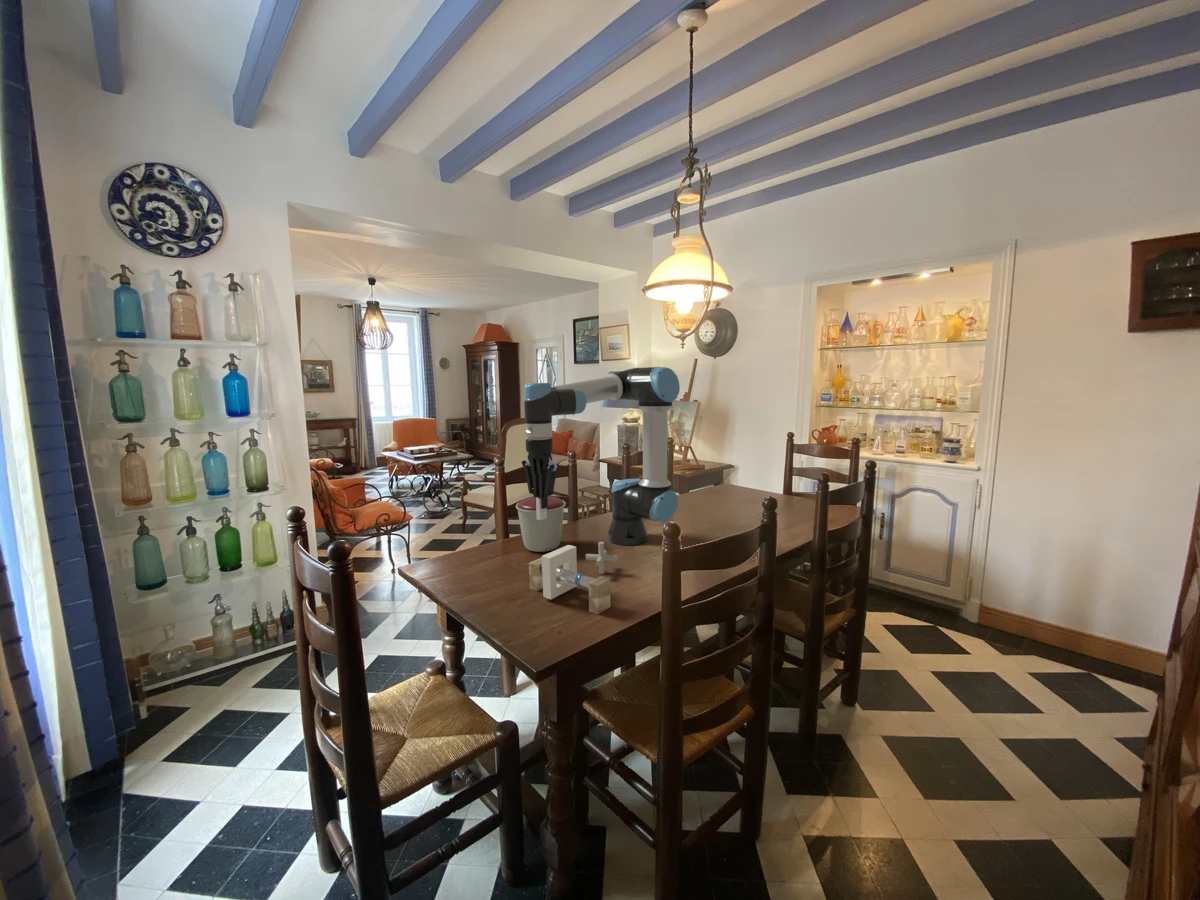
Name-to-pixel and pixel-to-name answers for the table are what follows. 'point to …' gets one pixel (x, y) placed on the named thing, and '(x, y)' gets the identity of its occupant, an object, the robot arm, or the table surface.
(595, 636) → the table surface
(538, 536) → the canister
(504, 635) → the table surface
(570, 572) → the steel rod
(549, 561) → the collar
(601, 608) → the rod support stand
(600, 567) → the pipe connector
